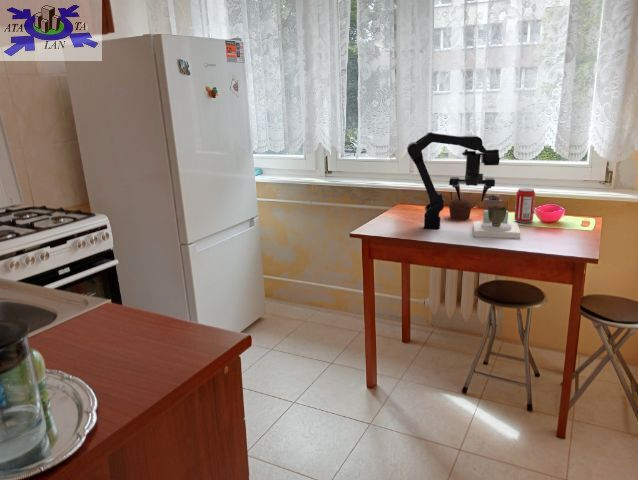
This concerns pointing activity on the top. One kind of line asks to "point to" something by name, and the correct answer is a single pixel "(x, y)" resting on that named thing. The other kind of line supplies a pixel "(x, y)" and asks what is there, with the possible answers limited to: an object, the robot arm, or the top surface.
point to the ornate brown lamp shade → (496, 215)
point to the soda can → (524, 205)
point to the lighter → (492, 201)
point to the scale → (495, 228)
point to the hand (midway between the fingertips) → (470, 201)
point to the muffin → (460, 208)
